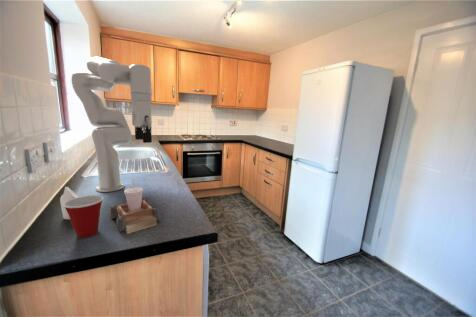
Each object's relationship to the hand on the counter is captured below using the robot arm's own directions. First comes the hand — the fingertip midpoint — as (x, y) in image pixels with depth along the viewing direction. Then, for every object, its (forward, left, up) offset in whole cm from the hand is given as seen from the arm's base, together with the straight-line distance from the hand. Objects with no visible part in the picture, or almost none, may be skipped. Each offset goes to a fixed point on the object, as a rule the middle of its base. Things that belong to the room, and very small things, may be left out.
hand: (143, 140), depth 90 cm
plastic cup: (+12, -23, -28) cm, 39 cm away
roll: (-5, -26, -28) cm, 39 cm away
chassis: (+11, -8, -28) cm, 31 cm away
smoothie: (+12, -8, -26) cm, 30 cm away
